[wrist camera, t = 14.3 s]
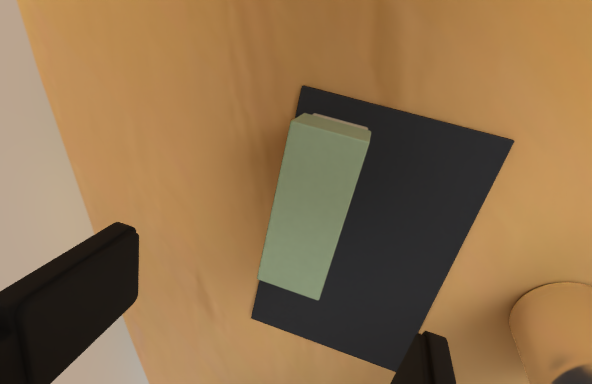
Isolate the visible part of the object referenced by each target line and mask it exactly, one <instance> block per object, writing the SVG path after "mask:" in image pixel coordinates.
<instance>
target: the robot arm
mask: <svg viewBox="0 0 592 384" xmlns="http://www.w3.org/2000/svg"><path fill="white" fill-rule="evenodd" d="M138 270H139V235H138V234H137V233H136V230H135V228H134V227H131V226H129V225H126V224H123V223H120V222H116V223H113V224H112V225H110V226H108V227H107V228H105V229H103V230H102V231H100V232H98V233H97V234H95V235H93V236H92V237H90V238H88V239H87V240H85V241H84V242H82V243H80V244H79V245H77V246H75V247H73V248H72V249H70V250H69V251H67V252H65V253H63V254H62V255H60V256H59V257H57V258H55V259H53V260H52V261H50V262H48V263H47V264H45V265H43V266H42V267H40V268H38V269H37V270H35V271H34V272H32V273H30V274H29V275H27V276H25V277H24V278H22V279H20V280H19V281H17V282H15V283H14V284H12V285H10V286H9V287H7V288H5V289H4V290H2V291H0V384H50V383H52V381H54V380H55V379H56V378H57V377H58V376H59V375H60V374H61V373H62V372H63V371H64V370H65V369H66V368H67V367H68V366H69V365H70V364H71V363H72V362H73V361H74V360H75V359H76V358H77V357H78V356H80V355H81V354H82V353H83V352H84V351H85V350H86V349H87V348H88V347H89V346H90V345H91V344H92V343H93V342H94V341H95V340H96V339H97V338H98V337H99V336H100V335H101V334H102V333H103V332H104V331H105V330H107V328H109V327H110V326H111V325H112V324H113V323H114V322H115V321H116V320H117V319H118V318H119V317H120V316H121V315H122V314H123V313H124V312H125V311H126V310H127V309H128V308H129V307H130V306H131V305H132V304H133V303H134V302H135V300H136V299H137V296H138ZM391 384H456V380H455V375H454V371H453V366H452V361H451V356H450V351H449V347H448V342H447V339H446V338H445V337H442V336H439V335H436V334H434V333H431V332H428V331H425V332H423V334H422V335H421V334H418V333H417V334H416V335H415V337H414V339H413V341H412V343H411V345H410V347H409V349H408V351H407V352H406V354H405V356H404V358H403V360H402V362H401V364H400V366H399V368H398V370H397V372H396V374H395V376H394V378H393V380H392V382H391Z"/></svg>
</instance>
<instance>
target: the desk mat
mask: <svg viewBox="0 0 592 384" xmlns="http://www.w3.org/2000/svg"><path fill="white" fill-rule="evenodd" d="M303 113H307V114H310V115H313V114H314V113H316V114H320V115H323V116H327V117H331V118H334V119H338V120H342V121H345V122H349V123H353V124H356V125H360V126H364V127H367V128H368V130H369V131H371V137H370V142H369V146H368V149H367V152H366V155H365V158H364V162H363V165H362V168H361V171H360V174H359V177H358V180H357V183H356V186H355V190H354V193H353V196H352V199H351V202H350V205H349V208H348V211H347V215H346V218H345V221H344V224H343V227H342V230H341V233H340V236H339V239H338V243H337V246H336V249H335V252H334V255H333V258H332V261H331V264H330V267H329V271H328V274H327V277H326V280H325V283H324V286H323V289H322V292H321V295H320V299H319V300H315V299H312V298H309V297H307V296H304V295H301V294H298V293H295V292H292V291H290V290H287V289H284V288H281V287H278V286H275V285H273V284H270V283H267V282H264V281H261V280H259V285H258V289H257V294H256V298H255V303H254V308H253V312H252V317H251V318H252V319H255V320H257V321H260V322H263V323H265V324H268V325H271V326H274V327H276V328H279V329H282V330H284V331H287V332H290V333H292V334H295V335H298V336H300V337H303V338H306V339H308V340H311V341H314V342H317V343H319V344H322V345H325V346H327V347H330V348H333V349H335V350H338V351H341V352H343V353H346V354H349V355H352V356H354V357H357V358H360V359H362V360H365V361H368V362H370V363H373V364H376V365H378V366H381V367H384V368H387V369H389V370H392V371H395V372H397V370H398V368H399V366H400V364H401V362H402V360H403V358H404V356H405V354H406V352H407V351H408V349H409V347H410V345H411V343H412V341H413V339H414V337H415V335H416V334H417V333H418V331H419V329H420V327H421V325H422V324H423V322H424V320H425V318H426V316H427V314H428V312H429V310H430V308H431V306H432V304H433V302H434V300H435V298H436V296H437V294H438V292H439V290H440V288H441V286H442V284H443V282H444V280H445V278H446V276H447V274H448V272H449V270H450V268H451V266H452V264H453V262H454V260H455V258H456V256H457V254H458V252H459V250H460V248H461V246H462V244H463V242H464V240H465V238H466V236H467V234H468V232H469V230H470V228H471V226H472V224H473V222H474V220H475V218H476V216H477V214H478V212H479V210H480V208H481V206H482V204H483V202H484V200H485V198H486V196H487V194H488V192H489V191H490V189H491V187H492V185H493V183H494V181H495V179H496V177H497V175H498V173H499V171H500V169H501V167H502V165H503V163H504V161H505V159H506V157H507V155H508V153H509V151H510V149H511V147H512V145H513V143H514V140H511V139H508V138H504V137H500V136H496V135H492V134H488V133H484V132H481V131H477V130H473V129H469V128H465V127H461V126H457V125H454V124H450V123H446V122H442V121H438V120H434V119H431V118H427V117H423V116H419V115H415V114H411V113H407V112H404V111H400V110H396V109H392V108H388V107H384V106H380V105H377V104H373V103H369V102H365V101H361V100H357V99H354V98H350V97H346V96H342V95H338V94H334V93H330V92H327V91H323V90H319V89H315V88H311V87H307V86H302V88H301V93H300V97H299V102H298V107H297V111H296V116H295V118H297V117H298V116H300V115H302V114H303Z"/></svg>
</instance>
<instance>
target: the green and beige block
mask: <svg viewBox="0 0 592 384" xmlns="http://www.w3.org/2000/svg"><path fill="white" fill-rule="evenodd" d="M370 137H371V131H369V130H368V128H367V127H364V126H360V125H356V124H353V123H349V122H345V121H342V120H338V119H334V118H331V117H327V116H323V115H320V114H316V113H314V114H313V115H310V114H307V113H303V114H302V115H300V116H298V117H297V118H295V119H293V120H292V121H291V122H290V127H289V132H288V136H287V141H286V146H285V150H284V155H283V160H282V164H281V169H280V173H279V178H278V183H277V187H276V192H275V197H274V201H273V206H272V211H271V215H270V220H269V225H268V229H267V234H266V239H265V243H264V248H263V253H262V257H261V262H260V266H259V271H258V276H257V279H258V280H261V281H264V282H267V283H270V284H273V285H275V286H278V287H281V288H284V289H287V290H290V291H292V292H295V293H298V294H301V295H304V296H307V297H309V298H312V299H315V300H319V299H320V295H321V292H322V289H323V286H324V283H325V280H326V277H327V274H328V271H329V267H330V264H331V261H332V258H333V255H334V252H335V249H336V246H337V243H338V239H339V236H340V233H341V230H342V227H343V224H344V221H345V218H346V215H347V211H348V208H349V205H350V202H351V199H352V196H353V193H354V190H355V186H356V183H357V180H358V177H359V174H360V171H361V168H362V165H363V162H364V158H365V155H366V152H367V149H368V146H369V142H370Z"/></svg>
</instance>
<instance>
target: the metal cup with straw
mask: <svg viewBox="0 0 592 384" xmlns="http://www.w3.org/2000/svg"><path fill="white" fill-rule="evenodd" d="M509 326H510V330H511V333H512V335H513V337H514V340H515V343H516V346H517V349H518V352H519V354H520V357H521V360H522V363H523V366H524V369H525V372H526V375H527V378H528V381H529V383H530V384H592V286H589V285H586V284H581V283H574V282H560V283H552V284H548V285H544V286H541V287H538V288H536V289H534V290H532V291H530V292H528V293H527V294H525V295H524V296H523V297H521V298H520V299H519V300H518V301H517V303H516V304H515V305H514V307H513V309H512V311H511V313H510V318H509Z"/></svg>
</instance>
